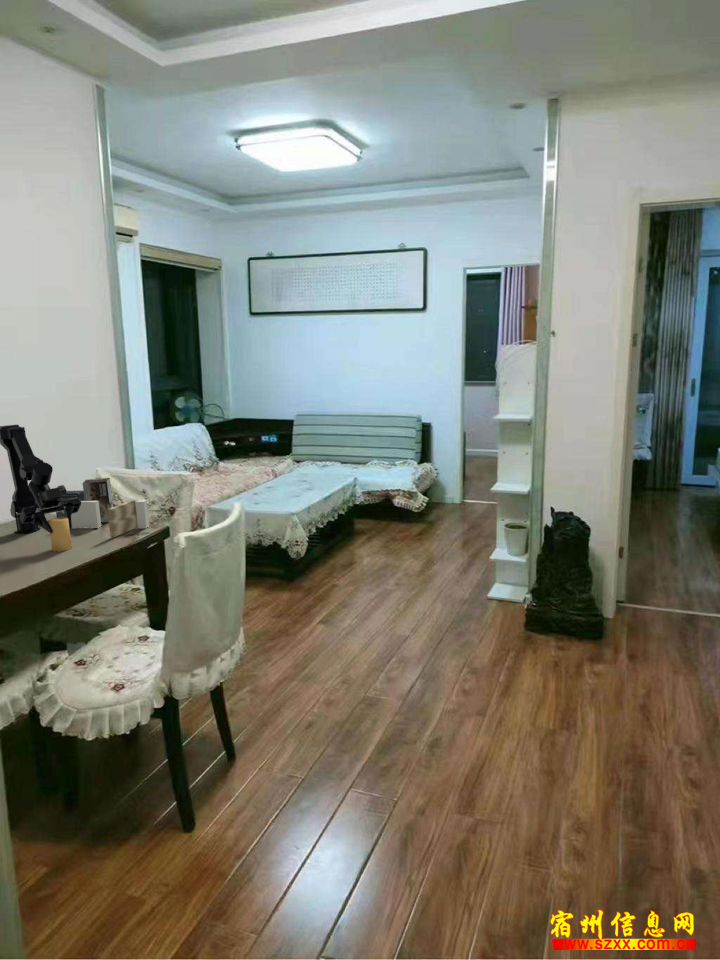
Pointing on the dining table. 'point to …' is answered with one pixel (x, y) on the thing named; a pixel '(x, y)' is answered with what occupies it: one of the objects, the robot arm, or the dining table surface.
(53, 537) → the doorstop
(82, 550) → the dining table surface
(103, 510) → the coffee box
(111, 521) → the door
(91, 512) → the wall frame
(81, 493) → the small box
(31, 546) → the dining table surface
